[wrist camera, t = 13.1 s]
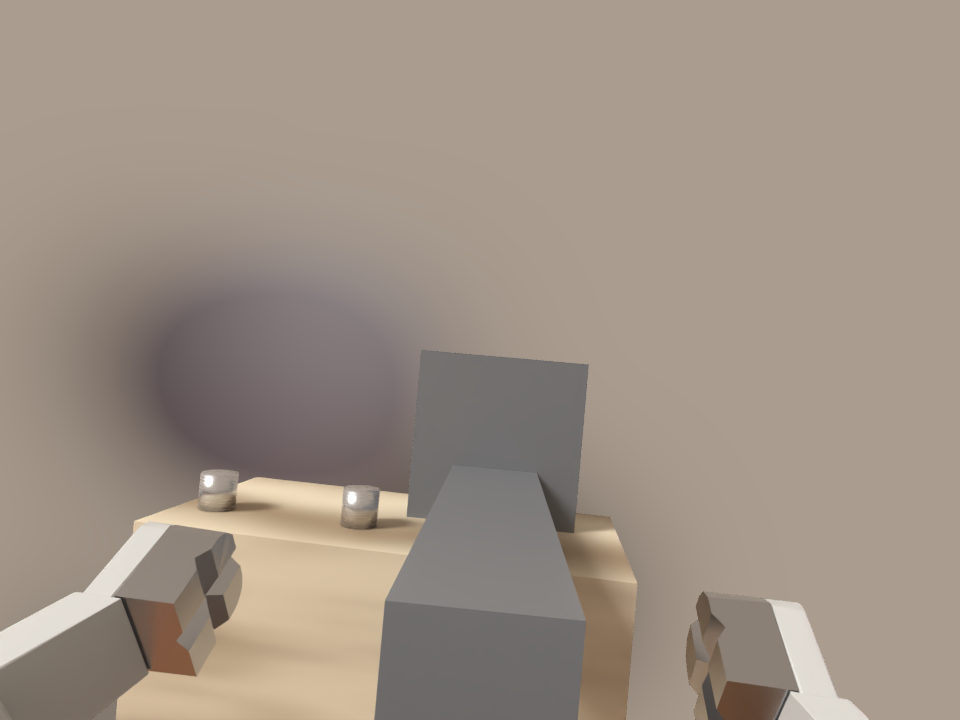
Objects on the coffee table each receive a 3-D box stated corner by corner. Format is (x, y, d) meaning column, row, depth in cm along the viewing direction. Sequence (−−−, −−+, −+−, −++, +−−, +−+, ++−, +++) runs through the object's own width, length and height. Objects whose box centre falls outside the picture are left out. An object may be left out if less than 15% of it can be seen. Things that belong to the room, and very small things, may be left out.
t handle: (677, 768, 9) (711, 360, 9) (273, 723, 9) (310, 325, 9) (565, 513, 25) (578, 364, 25) (417, 499, 25) (430, 352, 25)
